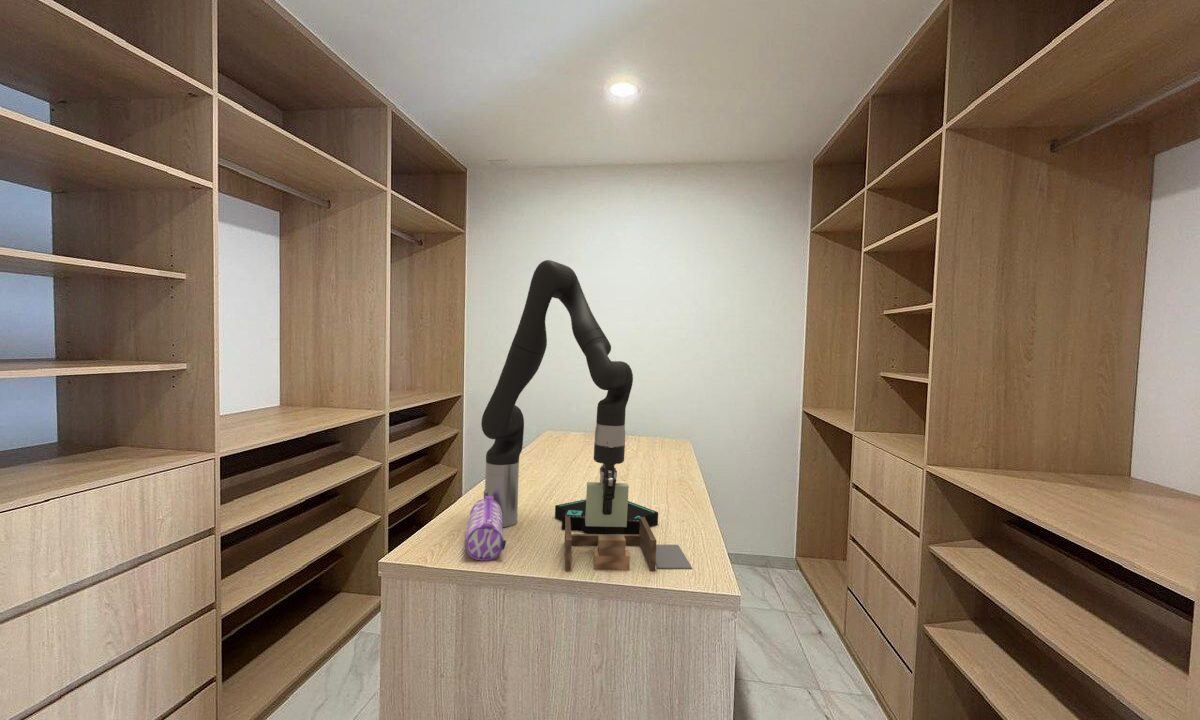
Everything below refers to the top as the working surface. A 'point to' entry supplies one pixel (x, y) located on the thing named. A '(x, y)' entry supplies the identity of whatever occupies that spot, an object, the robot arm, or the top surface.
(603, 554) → the upper offcut
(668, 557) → the felt pad
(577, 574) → the top surface
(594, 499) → the green board
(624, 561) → the block
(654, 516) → the wall plaque
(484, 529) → the pencil case
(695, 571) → the top surface
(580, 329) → the robot arm
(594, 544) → the rack
